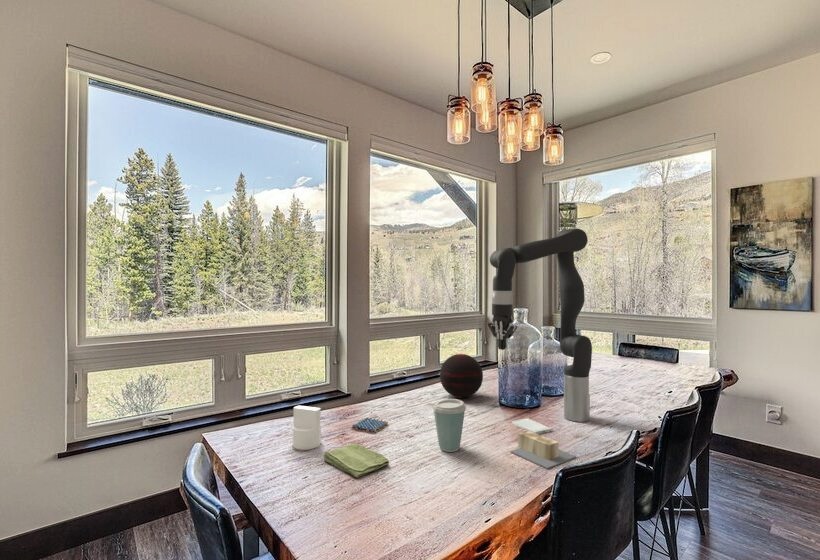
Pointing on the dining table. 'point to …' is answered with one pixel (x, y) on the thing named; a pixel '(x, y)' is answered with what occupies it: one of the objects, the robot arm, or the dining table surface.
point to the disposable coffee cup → (449, 423)
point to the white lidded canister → (306, 427)
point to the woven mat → (370, 425)
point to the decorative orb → (461, 375)
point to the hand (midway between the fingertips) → (501, 349)
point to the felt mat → (542, 461)
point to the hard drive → (531, 426)
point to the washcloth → (355, 459)
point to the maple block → (538, 445)
